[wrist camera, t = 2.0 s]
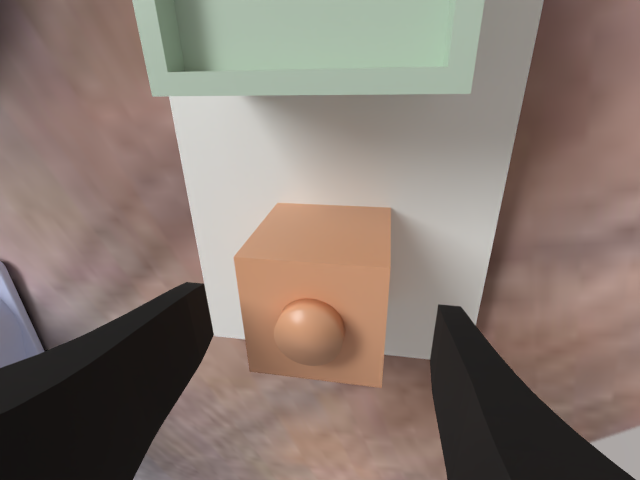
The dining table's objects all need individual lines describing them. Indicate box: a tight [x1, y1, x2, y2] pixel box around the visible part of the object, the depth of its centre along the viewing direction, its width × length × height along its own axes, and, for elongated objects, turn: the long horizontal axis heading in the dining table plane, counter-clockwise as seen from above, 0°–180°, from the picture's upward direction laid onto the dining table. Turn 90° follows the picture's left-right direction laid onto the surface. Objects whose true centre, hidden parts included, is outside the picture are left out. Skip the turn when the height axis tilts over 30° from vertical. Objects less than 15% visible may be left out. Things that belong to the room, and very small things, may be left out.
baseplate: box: [132, 0, 544, 360], centre depth 11 cm, size 20×12×6 cm, turn 2°
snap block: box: [234, 203, 391, 388], centre depth 13 cm, size 4×4×5 cm
